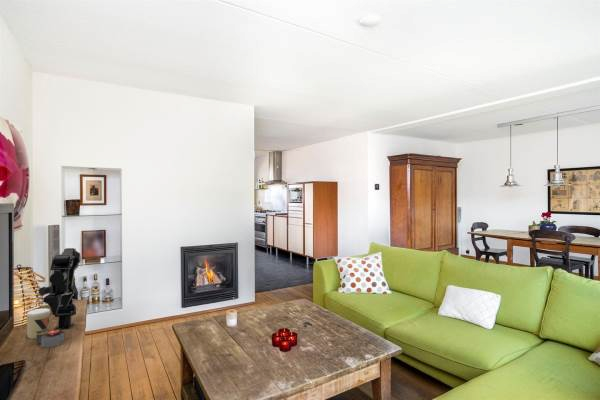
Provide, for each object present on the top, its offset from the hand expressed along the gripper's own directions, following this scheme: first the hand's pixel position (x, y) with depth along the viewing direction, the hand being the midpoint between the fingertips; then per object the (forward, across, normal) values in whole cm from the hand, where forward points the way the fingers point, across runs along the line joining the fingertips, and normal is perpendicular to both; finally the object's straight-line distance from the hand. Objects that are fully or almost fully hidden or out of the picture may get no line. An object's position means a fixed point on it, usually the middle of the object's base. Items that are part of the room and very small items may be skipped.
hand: (59, 311), depth 161 cm
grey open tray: (+13, +7, 0) cm, 15 cm away
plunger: (+12, +7, +1) cm, 14 cm away
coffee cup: (+13, -4, -11) cm, 17 cm away
